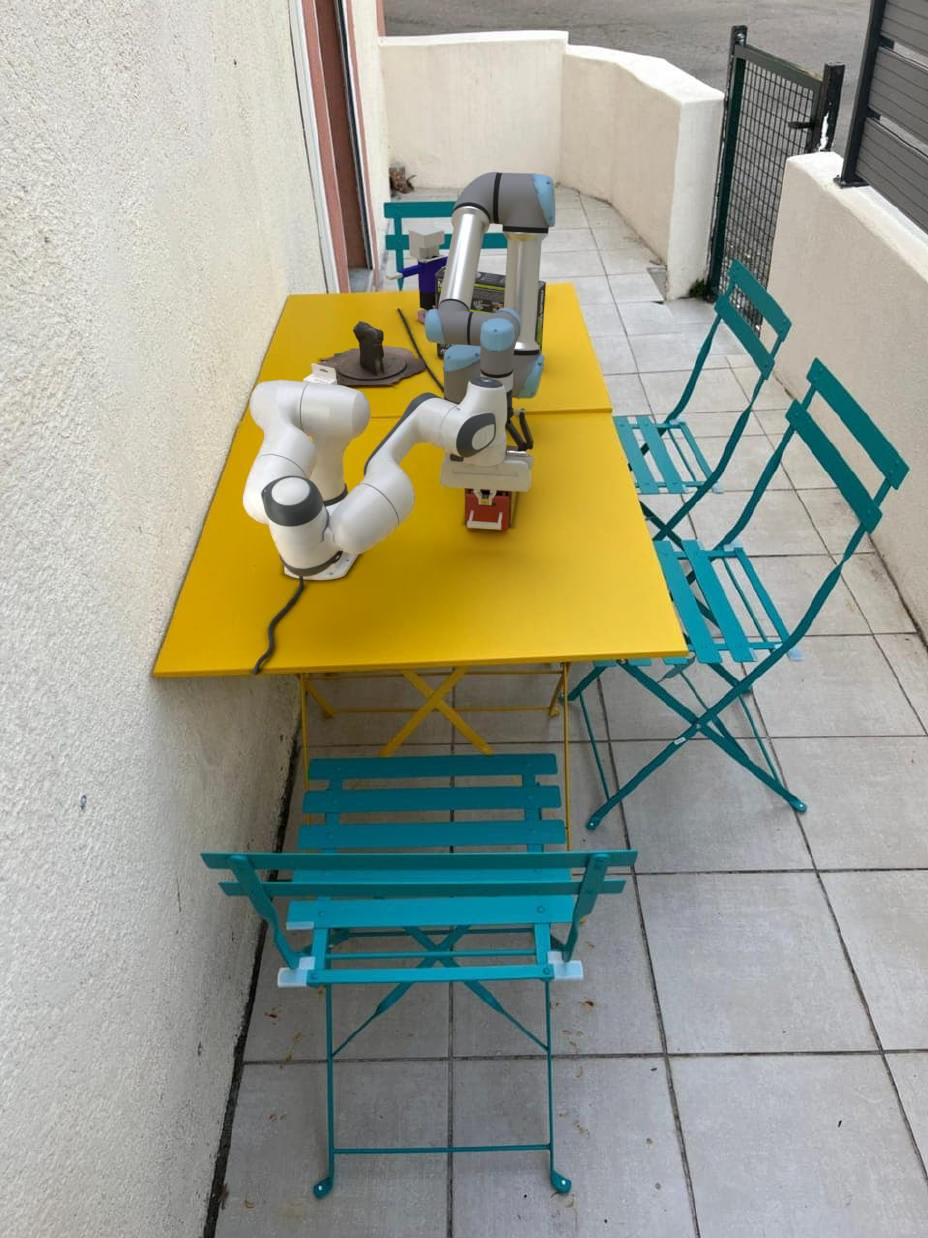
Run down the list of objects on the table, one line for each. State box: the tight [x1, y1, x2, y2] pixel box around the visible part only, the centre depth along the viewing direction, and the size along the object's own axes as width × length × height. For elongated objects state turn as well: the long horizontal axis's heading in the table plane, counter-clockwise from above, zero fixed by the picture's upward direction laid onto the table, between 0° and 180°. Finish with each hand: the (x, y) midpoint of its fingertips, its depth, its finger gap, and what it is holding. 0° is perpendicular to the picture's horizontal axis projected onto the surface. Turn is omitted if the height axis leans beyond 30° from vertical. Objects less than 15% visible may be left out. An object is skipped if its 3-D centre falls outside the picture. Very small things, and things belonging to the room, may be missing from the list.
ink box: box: [302, 363, 337, 385], centre depth 249 cm, size 9×5×15 cm, turn 62°
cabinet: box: [464, 444, 518, 528], centre depth 216 cm, size 20×11×11 cm, turn 172°
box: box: [435, 266, 547, 359], centre depth 273 cm, size 34×7×27 cm, turn 68°
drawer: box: [465, 490, 509, 531], centre depth 211 cm, size 25×10×9 cm, turn 172°
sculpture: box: [316, 320, 426, 387], centre depth 273 cm, size 33×35×16 cm
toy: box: [384, 223, 448, 325], centre depth 298 cm, size 35×10×30 cm, turn 130°
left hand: (485, 503), depth 200 cm, fingers closed
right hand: (494, 471), depth 219 cm, fingers closed on cabinet, 11 cm apart
